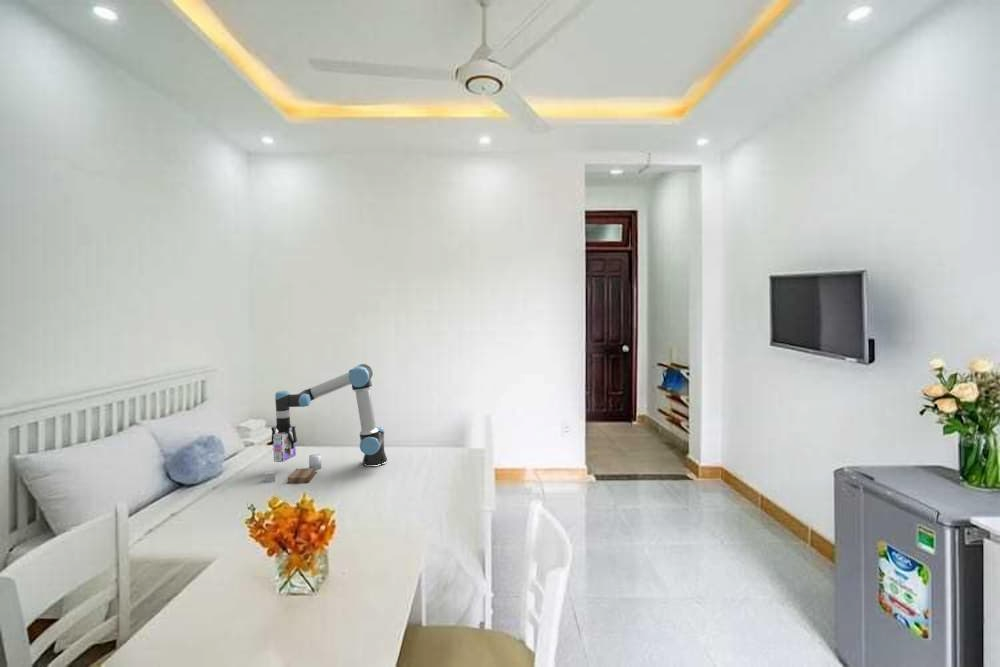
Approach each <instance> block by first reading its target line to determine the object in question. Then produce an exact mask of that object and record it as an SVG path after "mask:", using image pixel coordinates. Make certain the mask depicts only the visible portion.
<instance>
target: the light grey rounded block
mask: <svg viewBox="0 0 1000 667" xmlns="http://www.w3.org/2000/svg"><path fill="white" fill-rule="evenodd" d="M308 466H309V467H308V468H316V471H318V470H321V469H322V454H320V453H313V454H310V455H309V457H308Z"/></svg>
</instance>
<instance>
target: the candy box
mask: <svg viewBox="0 0 1000 667" xmlns="http://www.w3.org/2000/svg"><path fill="white" fill-rule="evenodd" d="M289 431H290V434H291V436H292V438H293V434H292V429H291V428H290V429H289ZM293 441H294V440H293ZM289 444H290V440H289V438H288V434H287V433H286V432H280V433H278V432H277V433H275V434H274V435H273V444H272V445H273V446H272V448H273V462H276V463H283V462H286V461H287V460H289V459H292V458H293V457H296V455H297V453H296V442H295V443H294V448H293V449H292V450H293V454H292V455H290V445H289Z"/></svg>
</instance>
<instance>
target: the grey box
mask: <svg viewBox="0 0 1000 667" xmlns="http://www.w3.org/2000/svg"><path fill="white" fill-rule="evenodd" d="M264 475H265V484H267V483H273V482H275V483H276V471H275V470H268V471H267V470H266V471H265V472H264Z"/></svg>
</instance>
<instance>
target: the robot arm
mask: <svg viewBox="0 0 1000 667" xmlns="http://www.w3.org/2000/svg"><path fill="white" fill-rule="evenodd" d="M372 378H373V370H372V368H371V367H370V366H369V365H367V364H366V363H365V364H364V363H362V364H359V365H357V366H355V367H353V368H352V369H350V370H348V372H347V373H344V374H342V375H339V376H337V377H334V378H331V379H330V380H326V381H325V382H322V383H319V384H317V385H315V386H312V387H310V388H307V389H304V390H302V391H301V392H299V393H297V394H295V393H294V394H290V392H289V391H288V390H280V391H276V392H275V396H274V397H275V398H274V402H275V419H276V424H275V425H276V426H272V427H271V429H270V430H271V444H272V445H273V435H274V434H276V430H277V431H278V432H277V433H280V432H286V433H287V434H288V438H289V440H290V444H289V445H290V455H292V454H293V450H292V449H293V448H294V443H295V444H296V443H297V442H298V439H297V438H298V437H297V432H296V428H297V426H296V425H291V417H290V414H291V413H290V410H291V409H290V408H298V407H299V408H301V407H302V408H305V407H309V406H310V404H311V401H314V400H316V399H319V398H320V397H321V398H322V397H323V396H326V395H328V394H331V393H333V392H336V391H338V390H340V389H343V388H345V387H348V386H350V385H351V390H352V391H354V392H355V397H356V404H357V408H358V409H357V410H358V415H359V422H360V430H361V431H360V432H359V438H360V442H359V449H360V451H361V452H362V453H363V454H364V455H363V458H362V464H366V465H378V464H382V463H384V462H386V461H387V462H388V457H387V454H386V452H385V428H384V427H381V426H376V420H375V419H376V418H375V413H374V408H373V401H372V395H371V394H372V393H371V389H372V387H373V384H372ZM289 429H290V430H292V434H293V438H292V436H291V434H290V431H289ZM293 440H294V441H293Z"/></svg>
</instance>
